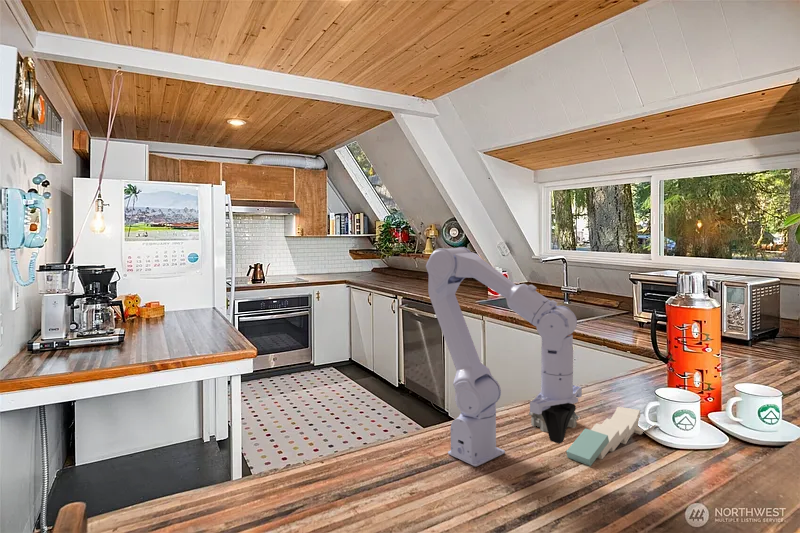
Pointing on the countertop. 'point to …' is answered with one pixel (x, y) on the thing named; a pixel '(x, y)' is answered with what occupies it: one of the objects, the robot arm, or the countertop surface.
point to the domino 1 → (587, 446)
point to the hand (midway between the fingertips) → (556, 441)
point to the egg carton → (539, 422)
